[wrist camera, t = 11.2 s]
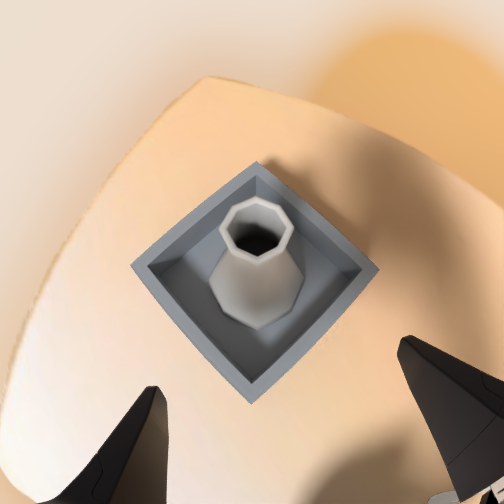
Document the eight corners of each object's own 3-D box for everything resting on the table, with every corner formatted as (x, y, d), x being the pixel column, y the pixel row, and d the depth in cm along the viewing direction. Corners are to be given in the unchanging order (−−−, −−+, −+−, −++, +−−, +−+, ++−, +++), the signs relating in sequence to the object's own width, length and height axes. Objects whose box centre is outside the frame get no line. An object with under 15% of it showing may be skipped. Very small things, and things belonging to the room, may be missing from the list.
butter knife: (436, 487, 14) (425, 509, 13) (537, 458, 11) (531, 475, 10) (433, 486, 15) (422, 508, 14) (535, 458, 12) (529, 475, 11)
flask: (257, 347, 20) (259, 345, 11) (191, 282, 22) (147, 230, 12) (320, 280, 22) (364, 226, 12) (255, 222, 23) (254, 141, 14)
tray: (252, 395, 20) (251, 404, 16) (148, 279, 23) (129, 265, 19) (361, 282, 23) (379, 269, 19) (256, 187, 26) (256, 161, 22)
